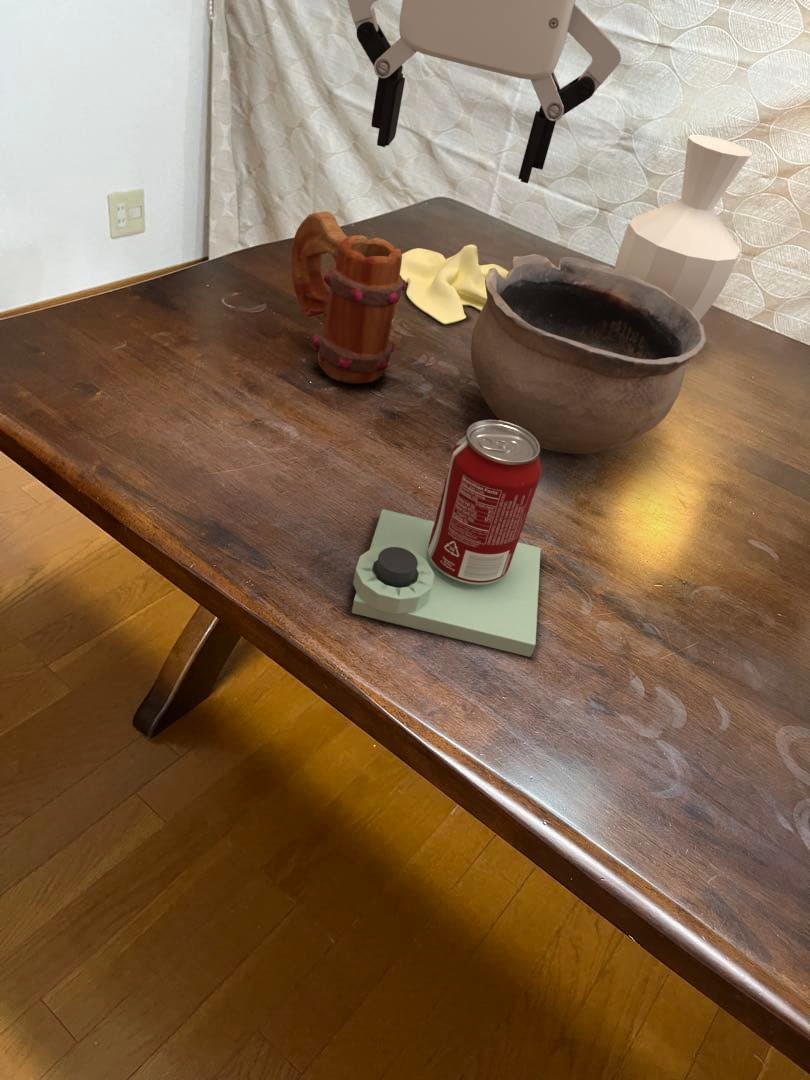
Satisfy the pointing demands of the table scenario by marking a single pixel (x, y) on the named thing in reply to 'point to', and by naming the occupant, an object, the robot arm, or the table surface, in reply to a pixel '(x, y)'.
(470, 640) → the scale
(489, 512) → the soda can
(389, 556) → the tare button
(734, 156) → the vase
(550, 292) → the ceramic bowl
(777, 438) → the table surface
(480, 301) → the cloth
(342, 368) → the mug
